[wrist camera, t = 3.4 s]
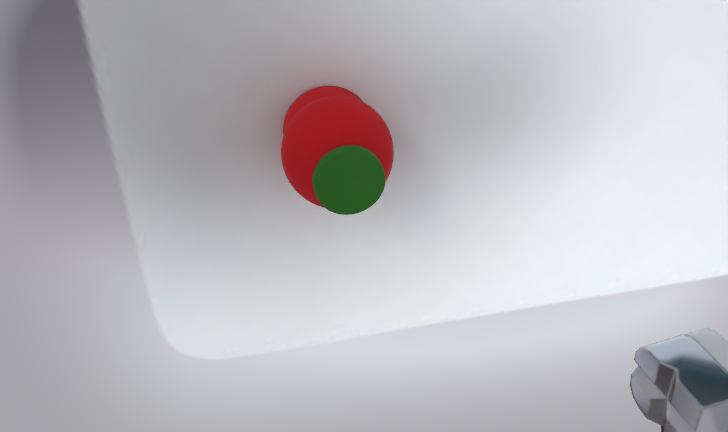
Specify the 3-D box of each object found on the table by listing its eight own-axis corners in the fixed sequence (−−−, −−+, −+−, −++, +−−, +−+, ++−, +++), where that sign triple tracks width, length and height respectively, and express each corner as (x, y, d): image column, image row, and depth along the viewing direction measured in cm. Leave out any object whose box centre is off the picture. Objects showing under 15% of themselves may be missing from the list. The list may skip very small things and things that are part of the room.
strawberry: (289, 183, 24) (303, 248, 20) (264, 91, 22) (274, 143, 18) (382, 160, 25) (415, 219, 21) (369, 67, 22) (402, 112, 18)
